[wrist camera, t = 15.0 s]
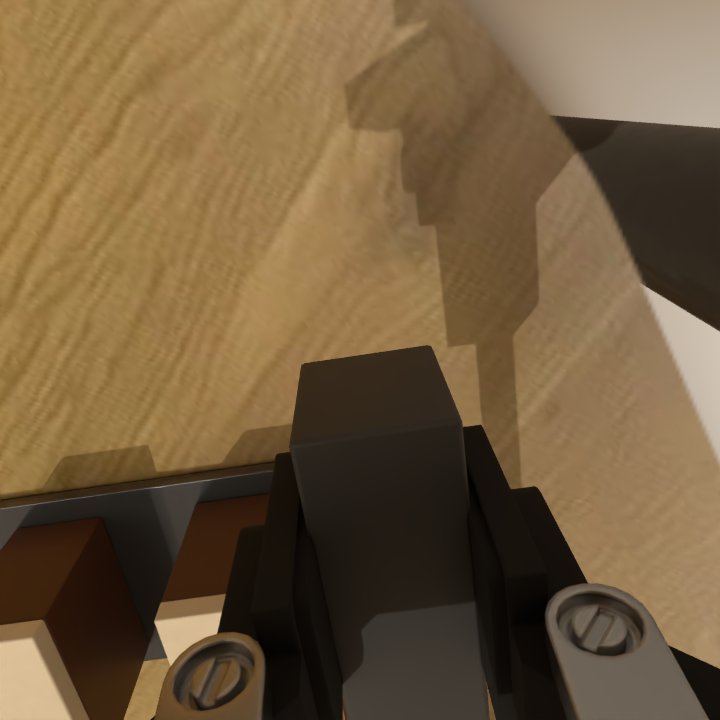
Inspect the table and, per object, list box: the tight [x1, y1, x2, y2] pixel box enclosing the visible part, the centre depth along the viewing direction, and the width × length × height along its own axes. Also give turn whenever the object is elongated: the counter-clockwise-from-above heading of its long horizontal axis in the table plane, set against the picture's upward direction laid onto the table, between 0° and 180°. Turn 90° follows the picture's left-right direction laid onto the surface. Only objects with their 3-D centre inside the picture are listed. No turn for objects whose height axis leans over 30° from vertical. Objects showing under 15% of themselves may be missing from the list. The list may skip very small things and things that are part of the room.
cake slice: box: [0, 517, 149, 720], centre depth 23 cm, size 4×7×6 cm, turn 8°
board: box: [0, 462, 275, 661], centre depth 26 cm, size 15×9×1 cm, turn 98°
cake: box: [154, 493, 347, 720], centre depth 23 cm, size 5×7×6 cm
